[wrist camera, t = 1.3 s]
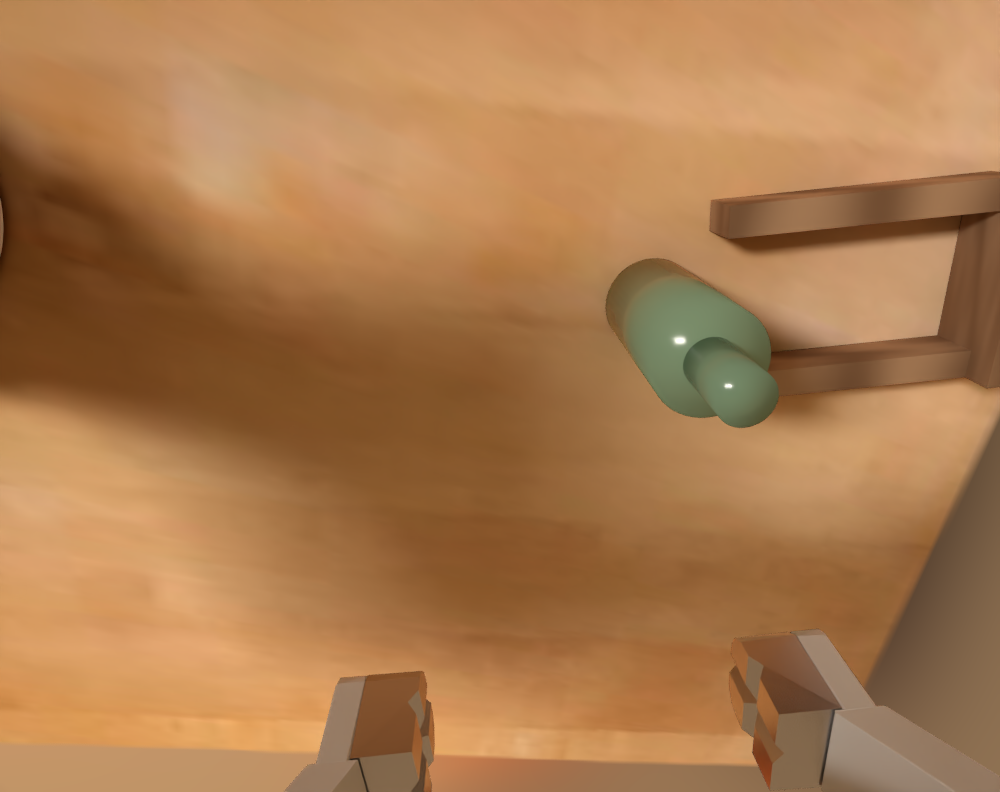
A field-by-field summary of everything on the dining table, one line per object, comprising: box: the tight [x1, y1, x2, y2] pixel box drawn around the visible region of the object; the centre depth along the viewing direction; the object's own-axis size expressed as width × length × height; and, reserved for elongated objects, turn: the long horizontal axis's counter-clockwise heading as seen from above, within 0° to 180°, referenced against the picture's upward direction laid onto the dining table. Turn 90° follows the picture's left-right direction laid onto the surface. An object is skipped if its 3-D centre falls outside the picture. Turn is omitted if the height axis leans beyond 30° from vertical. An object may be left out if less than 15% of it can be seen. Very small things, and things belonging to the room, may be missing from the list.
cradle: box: [710, 171, 1000, 396], centre depth 30 cm, size 14×10×4 cm
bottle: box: [606, 258, 779, 428], centre depth 27 cm, size 5×5×12 cm
